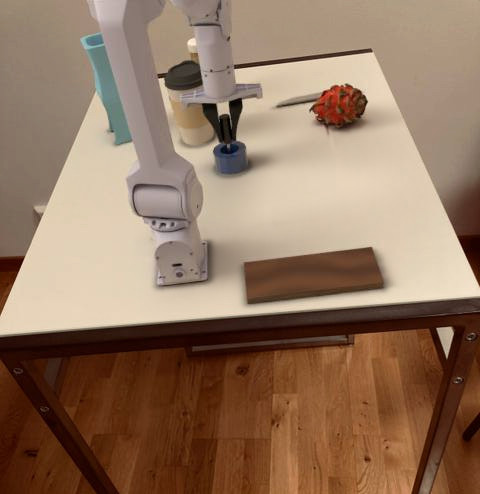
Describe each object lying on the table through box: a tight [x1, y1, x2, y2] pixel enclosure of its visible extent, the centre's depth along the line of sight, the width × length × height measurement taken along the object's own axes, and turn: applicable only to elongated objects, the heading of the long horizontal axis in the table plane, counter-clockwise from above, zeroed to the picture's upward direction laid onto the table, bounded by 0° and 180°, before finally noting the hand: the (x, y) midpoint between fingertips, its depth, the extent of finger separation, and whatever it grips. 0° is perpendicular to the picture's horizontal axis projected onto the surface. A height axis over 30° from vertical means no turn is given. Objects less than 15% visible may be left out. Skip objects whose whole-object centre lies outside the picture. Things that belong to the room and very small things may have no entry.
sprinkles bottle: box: [186, 37, 200, 64], centre depth 117 cm, size 5×5×14 cm
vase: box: [79, 31, 133, 146], centre depth 109 cm, size 8×8×20 cm
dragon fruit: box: [308, 82, 369, 129], centre depth 105 cm, size 8×8×12 cm
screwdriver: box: [218, 113, 233, 154], centre depth 96 cm, size 2×2×9 cm
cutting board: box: [243, 246, 385, 305], centre depth 77 cm, size 8×20×1 cm, turn 93°
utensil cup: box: [212, 140, 249, 175], centre depth 99 cm, size 6×6×4 cm
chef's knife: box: [275, 87, 356, 107], centre depth 116 cm, size 19×1×3 cm
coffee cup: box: [163, 59, 215, 145], centre depth 105 cm, size 9×9×15 cm
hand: (227, 139), depth 96 cm, fingers closed on screwdriver, 2 cm apart
